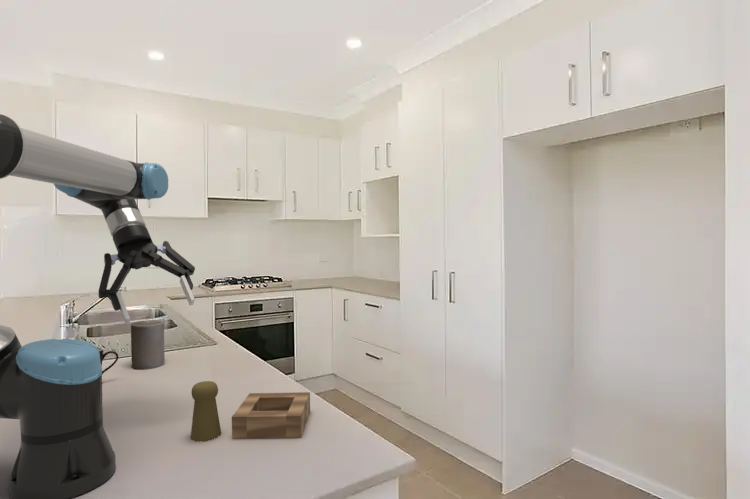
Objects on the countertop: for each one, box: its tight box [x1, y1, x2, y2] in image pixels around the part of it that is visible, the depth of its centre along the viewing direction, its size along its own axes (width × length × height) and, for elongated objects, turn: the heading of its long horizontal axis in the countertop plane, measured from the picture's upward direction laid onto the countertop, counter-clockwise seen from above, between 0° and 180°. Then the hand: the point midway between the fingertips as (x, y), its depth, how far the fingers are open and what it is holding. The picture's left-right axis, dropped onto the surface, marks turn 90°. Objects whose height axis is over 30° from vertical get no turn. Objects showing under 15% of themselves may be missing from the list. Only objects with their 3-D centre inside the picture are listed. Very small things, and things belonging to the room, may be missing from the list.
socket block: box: [231, 391, 311, 440], centre depth 102 cm, size 14×14×4 cm
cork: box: [190, 380, 222, 443], centre depth 97 cm, size 6×6×11 cm
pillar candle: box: [130, 318, 166, 370], centre depth 150 cm, size 10×10×15 cm
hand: (161, 311), depth 103 cm, fingers open, 13 cm apart
